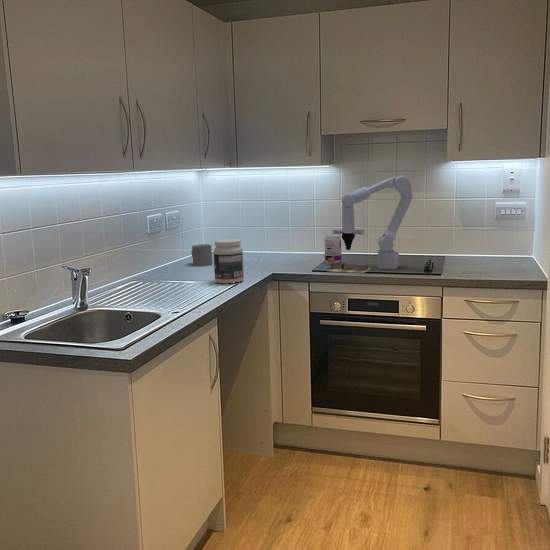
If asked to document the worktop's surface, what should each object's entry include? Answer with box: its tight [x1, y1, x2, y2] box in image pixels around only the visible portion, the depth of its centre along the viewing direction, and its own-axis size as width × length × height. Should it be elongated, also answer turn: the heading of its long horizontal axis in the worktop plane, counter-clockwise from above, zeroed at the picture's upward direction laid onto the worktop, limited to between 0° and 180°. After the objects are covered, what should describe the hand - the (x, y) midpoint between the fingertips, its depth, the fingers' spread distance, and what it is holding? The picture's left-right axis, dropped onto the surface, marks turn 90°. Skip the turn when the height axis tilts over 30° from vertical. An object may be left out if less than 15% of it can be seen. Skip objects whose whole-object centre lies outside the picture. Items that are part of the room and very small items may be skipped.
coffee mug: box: [191, 243, 213, 267], centre depth 323 cm, size 13×10×10 cm
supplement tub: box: [212, 238, 245, 284], centre depth 272 cm, size 13×13×18 cm
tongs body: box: [330, 263, 369, 270], centre depth 288 cm, size 17×4×2 cm, turn 63°
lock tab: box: [328, 258, 335, 263], centre depth 292 cm, size 2×2×2 cm
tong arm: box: [338, 262, 366, 270], centre depth 287 cm, size 14×3×3 cm, turn 61°
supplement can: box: [324, 234, 343, 266], centre depth 305 cm, size 8×8×15 cm
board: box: [326, 267, 372, 274], centre depth 287 cm, size 18×12×1 cm, turn 63°
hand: (348, 249), depth 289 cm, fingers closed
